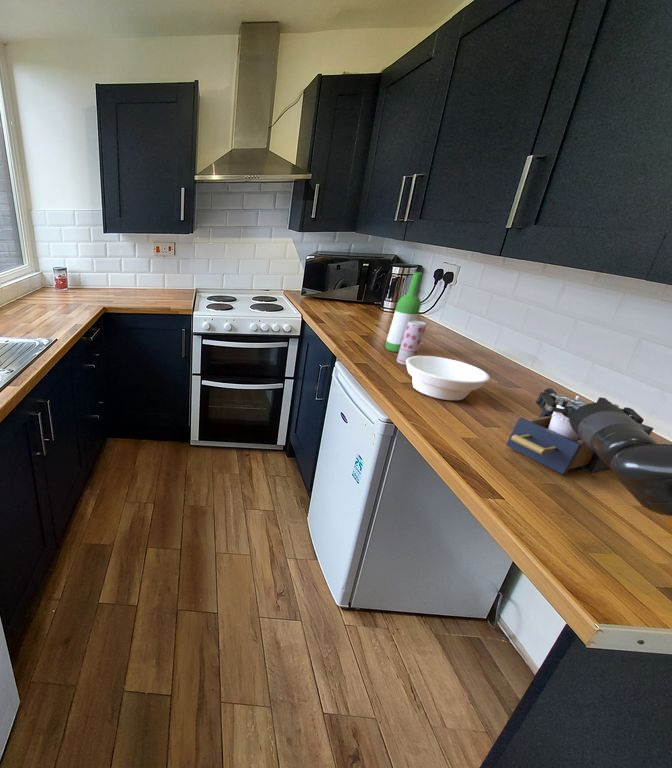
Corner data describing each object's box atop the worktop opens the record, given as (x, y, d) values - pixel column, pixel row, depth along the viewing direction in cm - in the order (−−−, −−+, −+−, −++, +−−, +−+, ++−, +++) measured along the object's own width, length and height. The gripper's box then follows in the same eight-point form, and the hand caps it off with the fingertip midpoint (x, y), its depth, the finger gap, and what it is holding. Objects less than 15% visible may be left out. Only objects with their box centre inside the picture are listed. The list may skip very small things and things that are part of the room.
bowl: (389, 375, 133) (396, 352, 130) (459, 382, 130) (468, 359, 126) (412, 403, 115) (421, 377, 111) (494, 412, 111) (506, 385, 108)
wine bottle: (407, 354, 154) (432, 275, 141) (384, 351, 156) (407, 273, 144) (405, 349, 160) (429, 272, 148) (384, 345, 163) (405, 270, 151)
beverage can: (395, 358, 149) (407, 319, 143) (413, 361, 147) (425, 321, 141) (396, 363, 144) (408, 323, 138) (414, 366, 142) (427, 325, 136)
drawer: (547, 478, 82) (563, 448, 79) (490, 448, 92) (503, 420, 89) (603, 464, 88) (620, 436, 85) (544, 437, 98) (557, 411, 94)
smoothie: (533, 442, 93) (560, 387, 88) (570, 452, 90) (601, 396, 84) (534, 453, 89) (563, 397, 83) (573, 465, 85) (606, 407, 79)
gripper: (674, 422, 68) (626, 388, 81) (565, 402, 74) (537, 373, 87) (650, 459, 71) (608, 420, 84) (547, 437, 77) (523, 404, 90)
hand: (572, 396), depth 86 cm, fingers open, 8 cm apart
